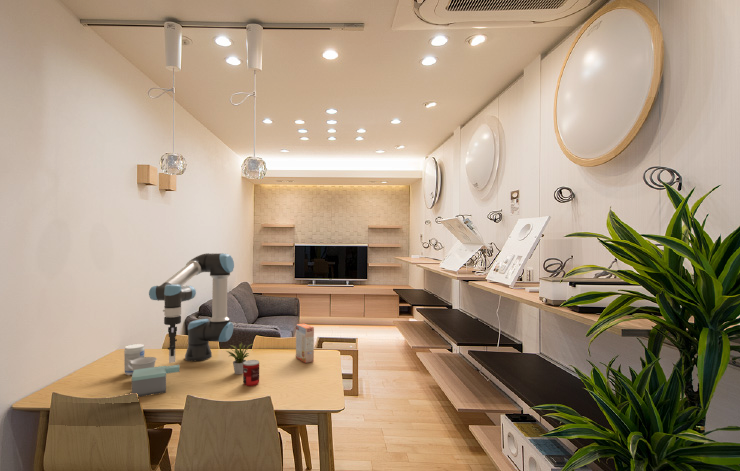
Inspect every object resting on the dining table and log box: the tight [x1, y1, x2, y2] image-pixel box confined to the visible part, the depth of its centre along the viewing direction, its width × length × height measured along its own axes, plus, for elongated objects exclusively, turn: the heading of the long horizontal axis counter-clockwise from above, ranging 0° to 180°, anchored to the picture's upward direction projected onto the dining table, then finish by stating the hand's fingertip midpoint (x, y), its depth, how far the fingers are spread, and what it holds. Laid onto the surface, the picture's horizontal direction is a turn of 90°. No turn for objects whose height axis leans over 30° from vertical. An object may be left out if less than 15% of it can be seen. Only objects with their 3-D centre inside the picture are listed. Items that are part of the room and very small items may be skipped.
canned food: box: [242, 359, 260, 387], centre depth 199 cm, size 8×8×11 cm
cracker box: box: [295, 322, 315, 364], centre depth 237 cm, size 14×6×21 cm, turn 34°
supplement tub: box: [123, 343, 145, 376], centre depth 214 cm, size 10×10×15 cm
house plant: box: [226, 342, 253, 375], centre depth 216 cm, size 14×14×16 cm
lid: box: [131, 364, 180, 382], centre depth 190 cm, size 20×12×2 cm, turn 117°
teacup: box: [127, 356, 158, 372], centre depth 205 cm, size 12×15×10 cm
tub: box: [131, 375, 167, 398], centre depth 189 cm, size 14×11×8 cm
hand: (172, 358), depth 193 cm, fingers open, 13 cm apart
